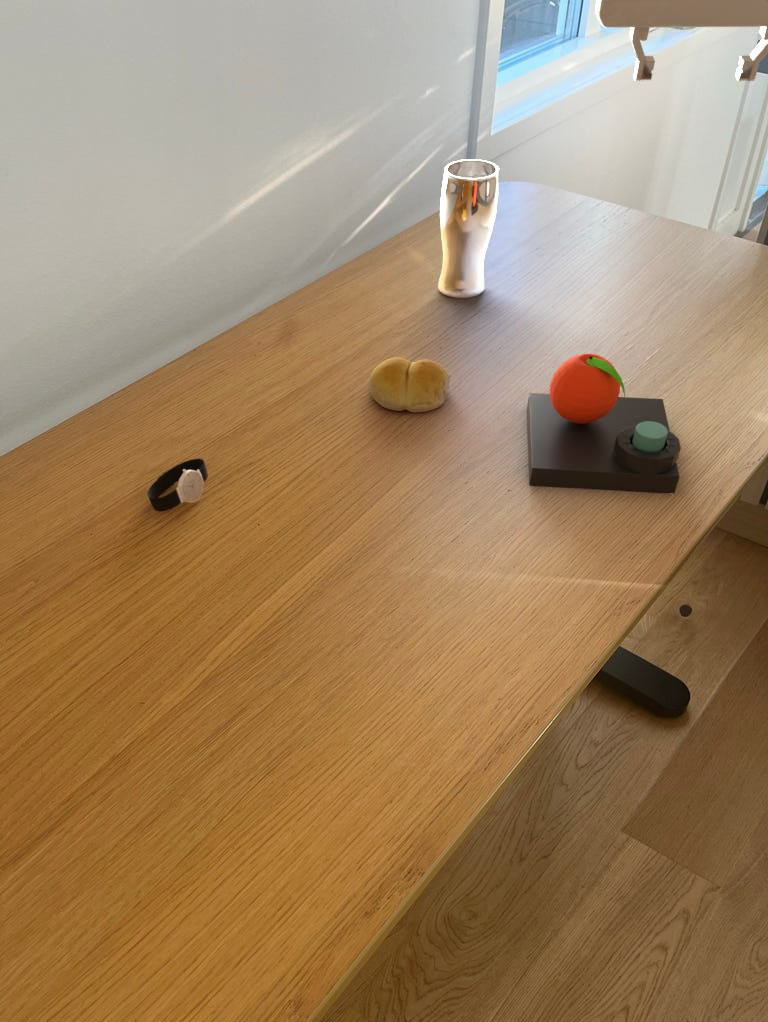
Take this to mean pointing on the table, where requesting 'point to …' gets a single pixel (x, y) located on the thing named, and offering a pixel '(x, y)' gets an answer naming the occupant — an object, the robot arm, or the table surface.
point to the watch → (179, 485)
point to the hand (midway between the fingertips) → (692, 79)
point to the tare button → (650, 436)
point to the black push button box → (599, 449)
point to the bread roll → (409, 384)
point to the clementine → (585, 388)
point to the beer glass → (466, 225)
